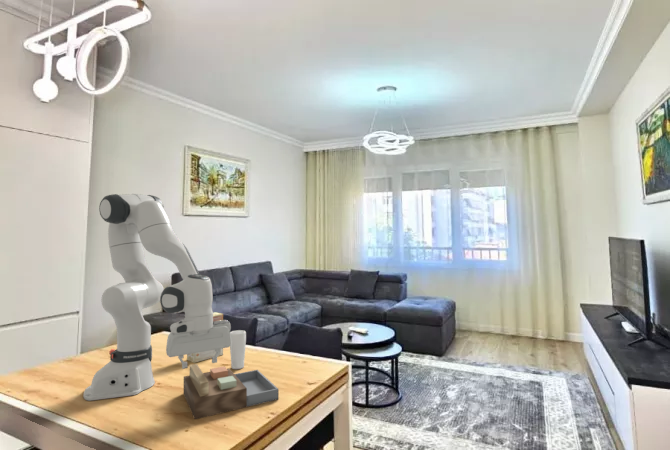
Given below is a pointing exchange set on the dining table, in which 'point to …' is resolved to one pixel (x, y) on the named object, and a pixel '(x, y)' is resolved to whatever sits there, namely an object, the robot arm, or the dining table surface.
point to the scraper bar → (199, 380)
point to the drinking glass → (237, 348)
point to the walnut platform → (214, 397)
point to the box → (258, 388)
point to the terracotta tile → (218, 372)
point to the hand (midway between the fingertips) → (199, 365)
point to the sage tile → (226, 382)
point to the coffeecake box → (206, 354)
